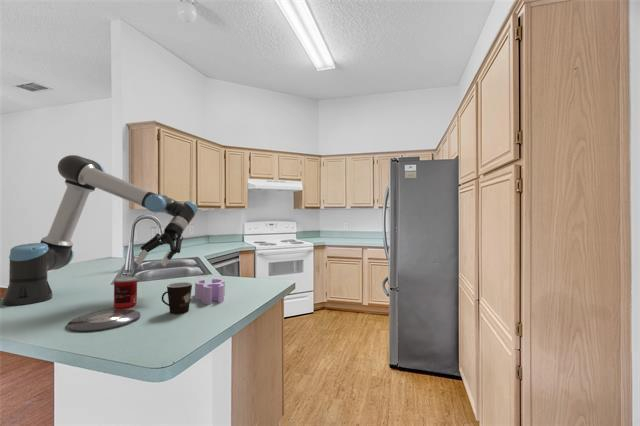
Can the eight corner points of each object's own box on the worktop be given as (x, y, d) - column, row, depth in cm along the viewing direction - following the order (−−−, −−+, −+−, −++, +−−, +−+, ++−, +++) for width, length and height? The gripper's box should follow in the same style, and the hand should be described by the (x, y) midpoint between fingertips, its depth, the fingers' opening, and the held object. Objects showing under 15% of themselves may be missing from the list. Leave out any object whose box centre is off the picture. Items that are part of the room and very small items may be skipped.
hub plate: (51, 327, 98) (51, 323, 98) (111, 309, 117) (111, 306, 117) (98, 335, 92) (98, 331, 92) (153, 315, 111) (153, 311, 111)
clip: (230, 302, 129) (230, 285, 130) (198, 306, 123) (199, 288, 124) (221, 291, 147) (221, 277, 147) (192, 295, 141) (193, 279, 141)
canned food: (132, 302, 127) (132, 275, 127) (140, 306, 122) (140, 278, 122) (110, 306, 121) (111, 278, 121) (117, 310, 116) (118, 281, 116)
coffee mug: (186, 307, 121) (186, 281, 121) (195, 311, 115) (196, 284, 115) (154, 313, 113) (154, 285, 113) (162, 318, 107) (162, 289, 107)
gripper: (201, 233, 146) (178, 270, 131) (159, 232, 153) (132, 267, 138) (194, 222, 141) (168, 259, 126) (150, 222, 148) (121, 257, 133)
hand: (149, 264), depth 132 cm, fingers open, 13 cm apart
